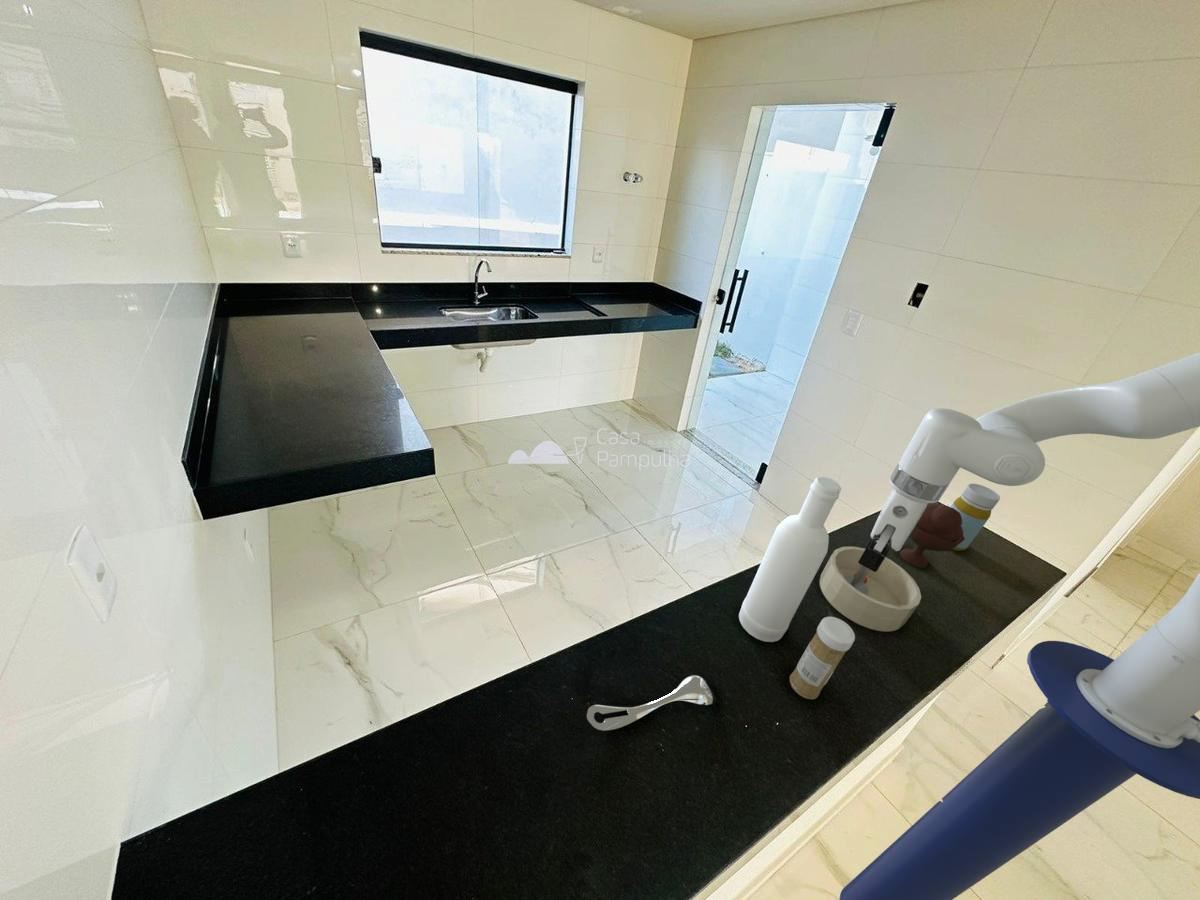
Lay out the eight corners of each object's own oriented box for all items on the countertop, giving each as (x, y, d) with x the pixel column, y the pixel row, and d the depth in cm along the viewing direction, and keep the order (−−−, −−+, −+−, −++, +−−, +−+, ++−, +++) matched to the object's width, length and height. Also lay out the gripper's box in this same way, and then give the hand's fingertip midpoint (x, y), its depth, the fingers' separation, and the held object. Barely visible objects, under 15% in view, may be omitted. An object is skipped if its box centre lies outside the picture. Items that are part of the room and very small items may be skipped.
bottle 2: (967, 543, 111) (1004, 493, 103) (963, 556, 106) (1001, 505, 98) (935, 528, 114) (968, 478, 107) (929, 540, 110) (963, 489, 102)
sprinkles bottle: (825, 694, 70) (863, 637, 63) (803, 704, 68) (841, 646, 61) (802, 668, 74) (836, 611, 67) (781, 677, 72) (814, 619, 65)
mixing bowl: (912, 601, 91) (928, 579, 88) (894, 647, 80) (911, 624, 77) (833, 557, 99) (845, 535, 96) (807, 593, 88) (819, 571, 85)
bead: (871, 577, 90) (860, 576, 90) (867, 588, 91) (856, 587, 90) (863, 570, 92) (852, 569, 92) (860, 581, 93) (849, 580, 93)
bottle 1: (756, 648, 76) (828, 503, 61) (729, 610, 82) (788, 470, 67) (793, 637, 79) (870, 496, 64) (764, 601, 85) (828, 465, 70)
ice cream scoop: (595, 727, 57) (584, 692, 61) (589, 743, 59) (579, 707, 62) (727, 695, 65) (710, 665, 68) (719, 710, 66) (703, 680, 70)
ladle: (866, 592, 89) (897, 542, 83) (861, 606, 86) (894, 555, 79) (840, 579, 91) (869, 529, 85) (835, 592, 88) (865, 541, 81)
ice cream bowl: (948, 566, 102) (987, 513, 95) (926, 583, 96) (966, 528, 88) (901, 536, 109) (933, 485, 102) (878, 550, 103) (910, 497, 96)
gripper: (935, 512, 68) (879, 598, 77) (950, 477, 79) (900, 556, 88) (881, 488, 72) (834, 572, 81) (903, 457, 83) (859, 535, 92)
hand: (869, 563), depth 85 cm, fingers closed on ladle
